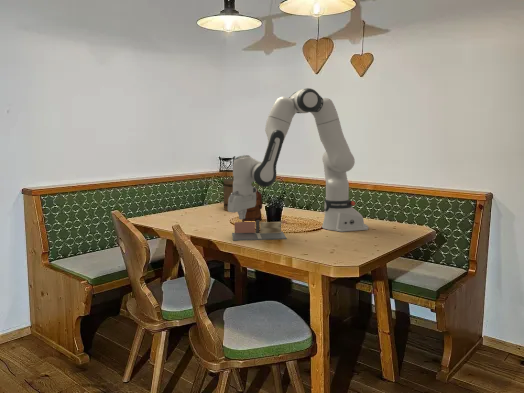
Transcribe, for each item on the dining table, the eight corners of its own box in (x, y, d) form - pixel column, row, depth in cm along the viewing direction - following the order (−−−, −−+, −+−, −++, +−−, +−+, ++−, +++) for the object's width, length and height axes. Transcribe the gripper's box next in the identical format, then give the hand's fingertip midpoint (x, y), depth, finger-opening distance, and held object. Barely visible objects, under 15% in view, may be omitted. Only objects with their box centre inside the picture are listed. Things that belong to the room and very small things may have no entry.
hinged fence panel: (254, 232, 224) (254, 221, 223) (255, 232, 223) (255, 222, 222) (234, 232, 223) (234, 222, 222) (234, 233, 222) (234, 222, 221)
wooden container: (244, 212, 278) (244, 174, 274) (220, 211, 281) (219, 174, 278) (251, 207, 292) (251, 172, 289) (228, 206, 295) (227, 171, 292)
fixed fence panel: (280, 232, 225) (280, 219, 224) (281, 232, 224) (281, 220, 223) (255, 232, 224) (255, 220, 223) (256, 233, 222) (255, 221, 221)
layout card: (282, 232, 227) (282, 231, 227) (286, 239, 214) (286, 237, 214) (231, 233, 224) (231, 232, 224) (233, 240, 211) (233, 239, 211)
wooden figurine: (248, 223, 248) (248, 188, 245) (240, 221, 252) (239, 187, 249) (264, 219, 256) (264, 186, 253) (256, 218, 260) (256, 185, 257)
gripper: (236, 193, 214) (235, 223, 216) (258, 188, 231) (258, 216, 233) (224, 192, 217) (224, 222, 219) (247, 187, 234) (247, 214, 236)
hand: (242, 219), depth 226 cm, fingers closed
